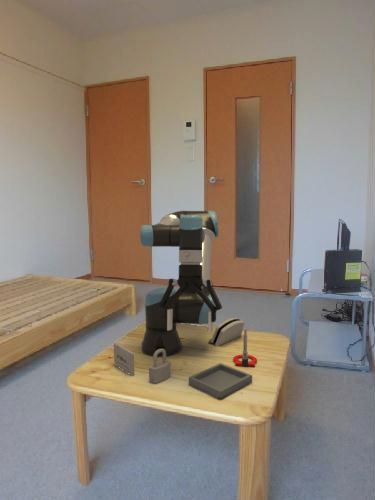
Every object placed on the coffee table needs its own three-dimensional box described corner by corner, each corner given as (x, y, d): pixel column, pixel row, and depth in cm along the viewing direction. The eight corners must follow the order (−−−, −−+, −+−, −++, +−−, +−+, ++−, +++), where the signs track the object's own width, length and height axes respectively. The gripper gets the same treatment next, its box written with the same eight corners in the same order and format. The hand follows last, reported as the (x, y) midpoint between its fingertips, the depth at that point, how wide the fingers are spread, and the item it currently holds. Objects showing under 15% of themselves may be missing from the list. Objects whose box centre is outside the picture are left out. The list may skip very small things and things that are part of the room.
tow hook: (233, 357, 145) (232, 366, 136) (234, 322, 144) (233, 329, 135) (256, 358, 144) (257, 368, 135) (257, 323, 143) (258, 330, 134)
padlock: (163, 373, 131) (163, 344, 130) (172, 377, 128) (171, 347, 127) (147, 381, 126) (147, 350, 124) (156, 384, 123) (155, 354, 122)
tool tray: (188, 384, 123) (188, 377, 122) (220, 370, 133) (220, 363, 133) (220, 399, 114) (220, 391, 113) (252, 382, 124) (252, 375, 124)
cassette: (113, 364, 138) (112, 343, 137) (117, 363, 139) (117, 342, 138) (131, 376, 129) (130, 354, 128) (136, 375, 130) (135, 352, 129)
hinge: (231, 332, 170) (238, 312, 167) (240, 338, 167) (247, 318, 164) (207, 343, 158) (213, 322, 154) (216, 350, 155) (223, 328, 151)
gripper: (149, 263, 127) (148, 330, 126) (226, 264, 119) (225, 335, 118) (158, 263, 134) (157, 326, 133) (231, 264, 126) (231, 331, 125)
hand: (189, 331), depth 125 cm, fingers open, 13 cm apart
